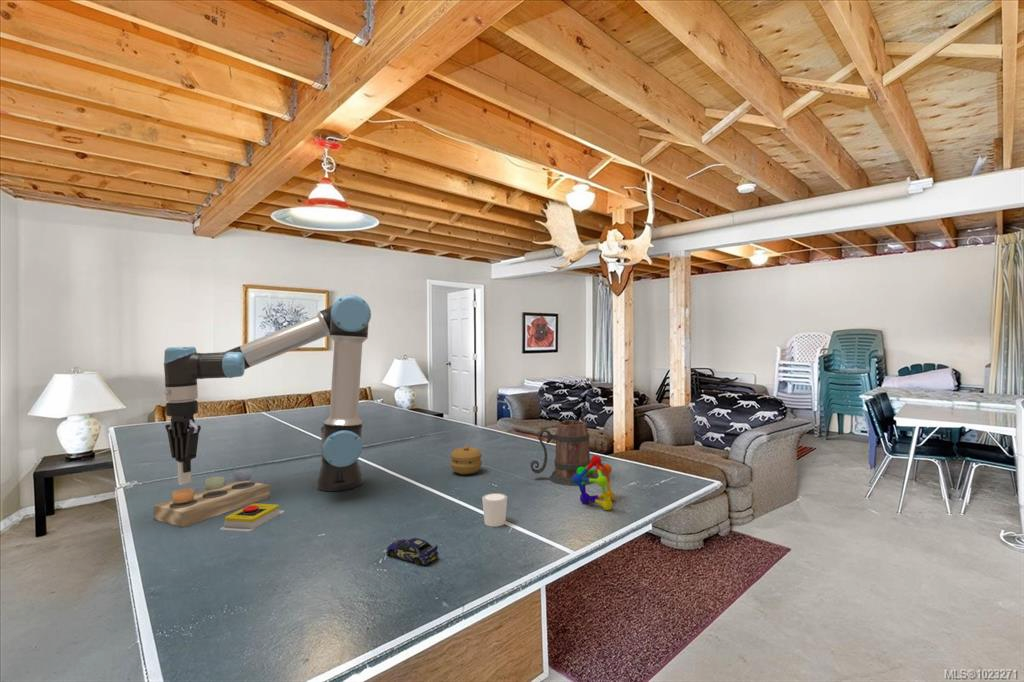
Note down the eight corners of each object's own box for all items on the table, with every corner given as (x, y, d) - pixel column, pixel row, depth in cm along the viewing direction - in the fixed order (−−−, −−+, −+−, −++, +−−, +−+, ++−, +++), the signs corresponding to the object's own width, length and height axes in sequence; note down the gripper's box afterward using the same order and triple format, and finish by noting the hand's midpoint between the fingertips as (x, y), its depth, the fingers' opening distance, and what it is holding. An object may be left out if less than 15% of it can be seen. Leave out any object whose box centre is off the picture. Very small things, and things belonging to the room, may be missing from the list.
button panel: (269, 497, 150) (269, 484, 150) (183, 527, 127) (183, 511, 127) (241, 491, 156) (241, 479, 156) (153, 519, 133) (153, 504, 133)
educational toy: (572, 499, 148) (571, 451, 149) (613, 501, 146) (612, 452, 148) (573, 513, 132) (572, 459, 134) (619, 514, 131) (618, 460, 132)
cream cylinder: (488, 529, 123) (488, 502, 123) (478, 520, 129) (478, 495, 129) (512, 524, 126) (511, 498, 126) (500, 515, 132) (500, 491, 132)
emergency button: (218, 515, 125) (257, 496, 140) (218, 531, 125) (257, 511, 140) (249, 517, 123) (285, 498, 138) (249, 533, 123) (285, 512, 138)
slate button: (255, 477, 151) (255, 469, 151) (240, 482, 146) (240, 474, 146) (245, 476, 153) (245, 468, 153) (230, 480, 149) (230, 472, 149)
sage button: (228, 486, 143) (228, 477, 143) (211, 490, 138) (211, 482, 138) (218, 484, 145) (217, 475, 145) (201, 488, 140) (201, 480, 140)
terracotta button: (197, 498, 135) (197, 489, 135) (179, 504, 130) (179, 494, 130) (187, 496, 137) (187, 487, 137) (168, 501, 132) (168, 492, 132)
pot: (455, 468, 182) (454, 442, 182) (484, 468, 181) (484, 442, 181) (446, 476, 171) (446, 449, 171) (478, 477, 169) (478, 450, 169)
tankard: (591, 471, 175) (590, 418, 175) (601, 485, 158) (601, 426, 158) (529, 472, 174) (528, 419, 174) (532, 487, 158) (531, 427, 157)
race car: (374, 559, 108) (374, 539, 108) (392, 547, 114) (392, 528, 114) (429, 570, 102) (429, 550, 102) (445, 557, 108) (445, 538, 108)
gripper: (154, 401, 133) (157, 484, 133) (181, 403, 127) (184, 490, 127) (182, 398, 140) (185, 477, 140) (209, 399, 134) (212, 481, 134)
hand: (184, 483), depth 134 cm, fingers closed
